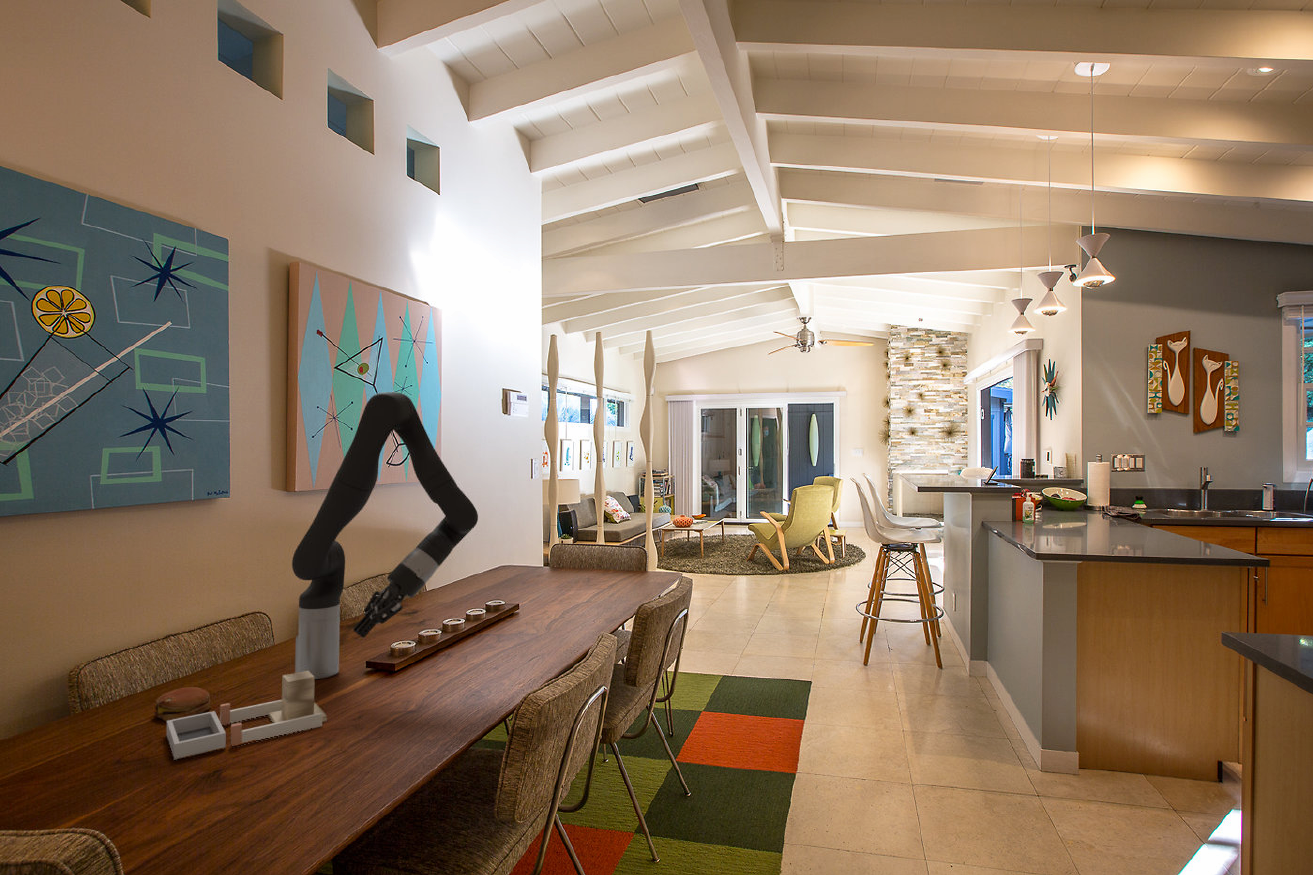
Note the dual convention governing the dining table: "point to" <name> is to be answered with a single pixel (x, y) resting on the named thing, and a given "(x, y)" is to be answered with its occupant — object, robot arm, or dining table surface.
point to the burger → (182, 703)
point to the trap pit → (195, 734)
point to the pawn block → (297, 698)
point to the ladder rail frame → (266, 730)
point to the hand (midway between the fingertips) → (358, 633)
